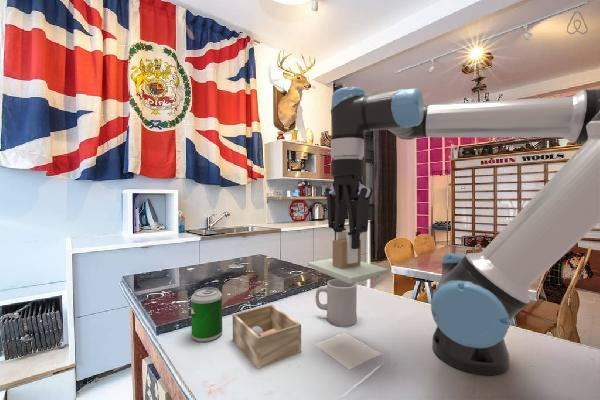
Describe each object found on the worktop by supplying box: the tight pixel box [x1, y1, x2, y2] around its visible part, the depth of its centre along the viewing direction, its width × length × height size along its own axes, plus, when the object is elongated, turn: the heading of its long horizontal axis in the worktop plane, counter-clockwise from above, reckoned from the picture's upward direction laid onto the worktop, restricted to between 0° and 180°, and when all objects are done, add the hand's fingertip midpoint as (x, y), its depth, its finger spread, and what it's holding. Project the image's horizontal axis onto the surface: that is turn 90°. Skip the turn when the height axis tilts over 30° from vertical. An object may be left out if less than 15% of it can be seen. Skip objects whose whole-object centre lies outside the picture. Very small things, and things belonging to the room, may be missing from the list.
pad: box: [314, 332, 381, 370], centre depth 68 cm, size 12×10×1 cm
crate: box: [232, 304, 302, 369], centre depth 70 cm, size 14×11×7 cm
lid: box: [307, 239, 390, 284], centre depth 67 cm, size 15×12×8 cm
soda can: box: [190, 287, 223, 343], centre depth 74 cm, size 8×8×12 cm
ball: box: [252, 326, 264, 336], centre depth 71 cm, size 4×4×4 cm
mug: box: [315, 278, 358, 328], centre depth 85 cm, size 12×8×11 cm
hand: (346, 260), depth 67 cm, fingers closed on lid, 3 cm apart
